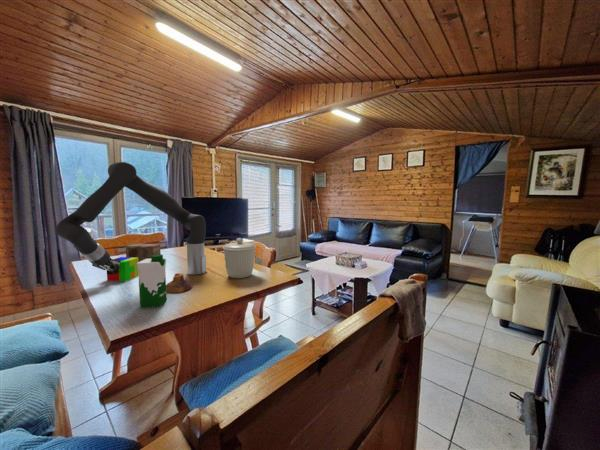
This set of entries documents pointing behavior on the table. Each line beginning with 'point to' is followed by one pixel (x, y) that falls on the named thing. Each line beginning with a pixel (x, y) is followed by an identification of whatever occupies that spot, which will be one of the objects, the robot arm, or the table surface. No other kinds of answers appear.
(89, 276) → the table surface
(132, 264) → the puzzle toy
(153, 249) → the brown wooden box
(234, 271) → the canister
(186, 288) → the bell
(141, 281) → the milk carton
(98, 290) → the table surface
